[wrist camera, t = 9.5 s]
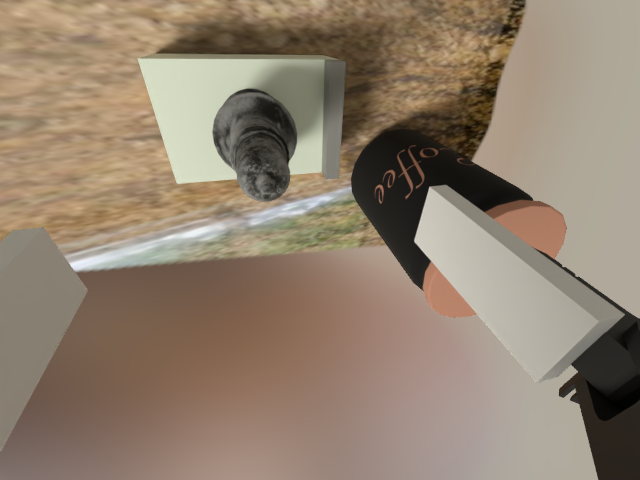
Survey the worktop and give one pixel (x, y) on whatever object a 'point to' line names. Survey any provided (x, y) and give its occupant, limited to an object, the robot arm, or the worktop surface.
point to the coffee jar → (410, 195)
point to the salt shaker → (256, 142)
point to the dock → (234, 75)
